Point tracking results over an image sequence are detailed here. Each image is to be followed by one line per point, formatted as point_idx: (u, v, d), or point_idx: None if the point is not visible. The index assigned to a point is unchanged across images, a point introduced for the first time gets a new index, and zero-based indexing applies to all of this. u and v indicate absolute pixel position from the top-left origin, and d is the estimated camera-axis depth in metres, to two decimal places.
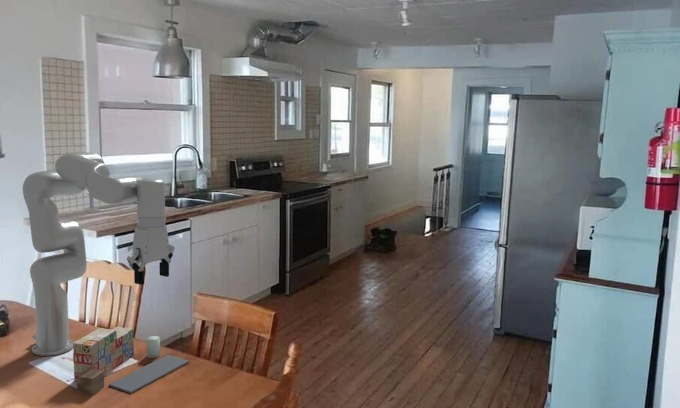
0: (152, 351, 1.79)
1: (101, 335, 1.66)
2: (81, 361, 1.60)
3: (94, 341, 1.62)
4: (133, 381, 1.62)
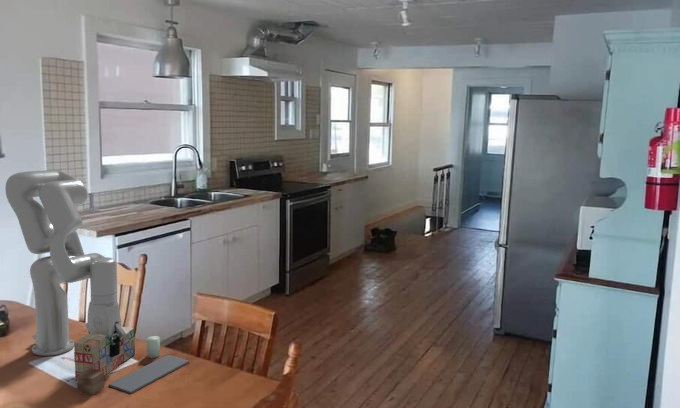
0: (152, 351, 1.79)
1: None
2: (82, 361, 1.61)
3: (95, 340, 1.62)
4: (133, 381, 1.62)
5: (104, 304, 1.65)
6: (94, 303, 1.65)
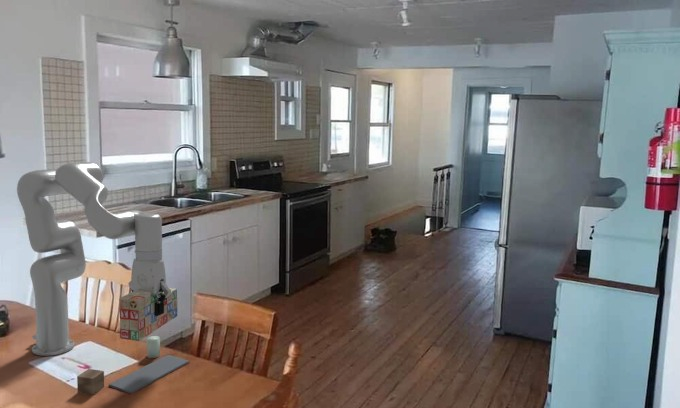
0: (152, 351, 1.79)
1: (147, 292, 1.61)
2: (127, 317, 1.56)
3: (141, 297, 1.57)
4: (133, 381, 1.62)
5: (150, 260, 1.60)
6: (139, 259, 1.60)
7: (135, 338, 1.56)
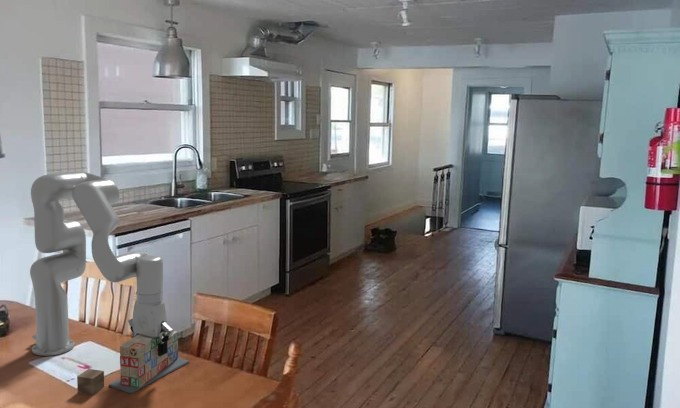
0: None
1: (147, 338, 1.63)
2: (127, 364, 1.58)
3: (141, 344, 1.59)
4: None
5: (151, 303, 1.62)
6: (141, 302, 1.61)
7: (135, 385, 1.58)
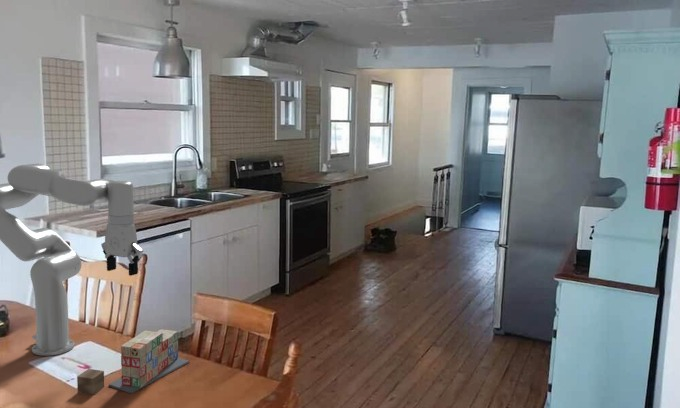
0: None
1: (148, 338, 1.63)
2: (129, 365, 1.58)
3: (142, 344, 1.59)
4: None
5: (121, 224, 1.70)
6: (112, 223, 1.70)
7: (136, 385, 1.58)
